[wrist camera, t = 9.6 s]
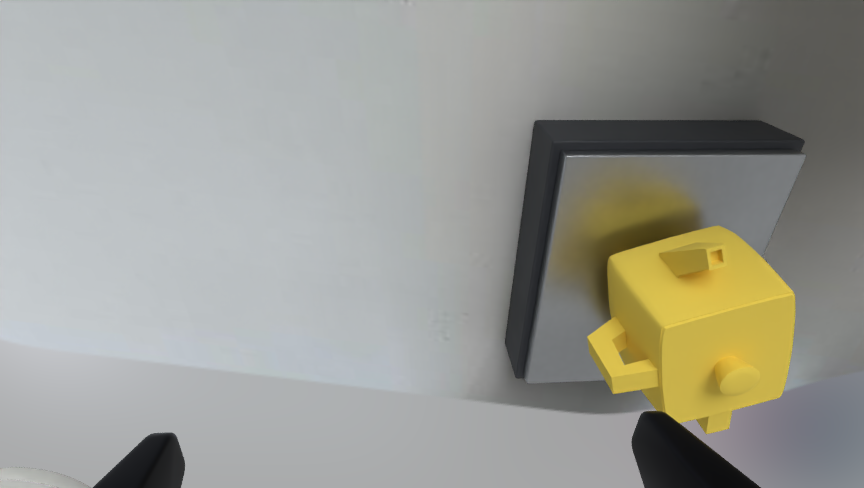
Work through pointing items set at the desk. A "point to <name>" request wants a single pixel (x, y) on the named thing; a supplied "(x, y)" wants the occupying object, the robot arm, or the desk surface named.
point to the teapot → (696, 326)
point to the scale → (628, 217)
